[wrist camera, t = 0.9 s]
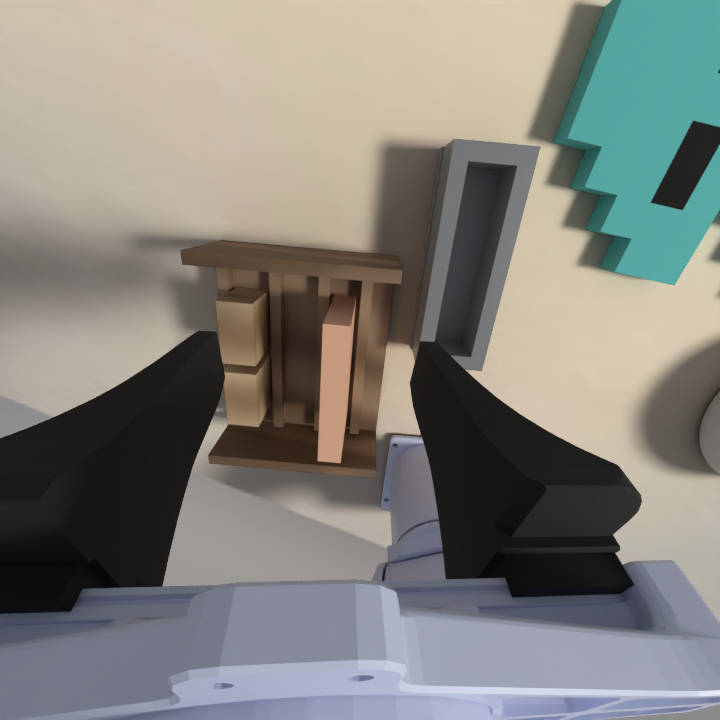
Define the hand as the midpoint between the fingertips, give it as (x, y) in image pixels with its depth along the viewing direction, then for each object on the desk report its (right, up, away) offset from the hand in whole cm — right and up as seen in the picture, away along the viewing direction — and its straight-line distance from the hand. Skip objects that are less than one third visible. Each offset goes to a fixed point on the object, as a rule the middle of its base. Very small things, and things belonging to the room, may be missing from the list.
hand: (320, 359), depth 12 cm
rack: (-3, +1, +16) cm, 17 cm away
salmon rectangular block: (0, 0, +15) cm, 15 cm away
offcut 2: (-7, -1, +16) cm, 18 cm away
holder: (+9, +7, +13) cm, 17 cm away
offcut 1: (-7, +3, +14) cm, 16 cm away
